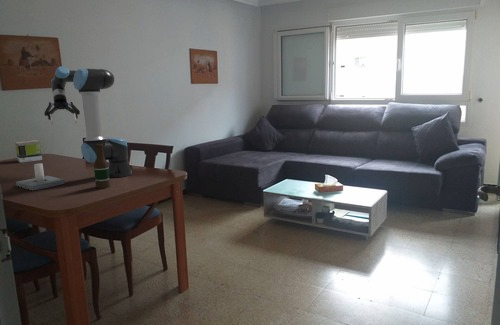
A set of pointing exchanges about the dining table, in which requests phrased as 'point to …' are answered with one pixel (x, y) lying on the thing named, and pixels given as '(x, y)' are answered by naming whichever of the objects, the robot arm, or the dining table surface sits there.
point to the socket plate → (40, 183)
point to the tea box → (28, 151)
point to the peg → (39, 172)
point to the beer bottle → (101, 169)
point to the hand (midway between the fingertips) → (64, 122)
